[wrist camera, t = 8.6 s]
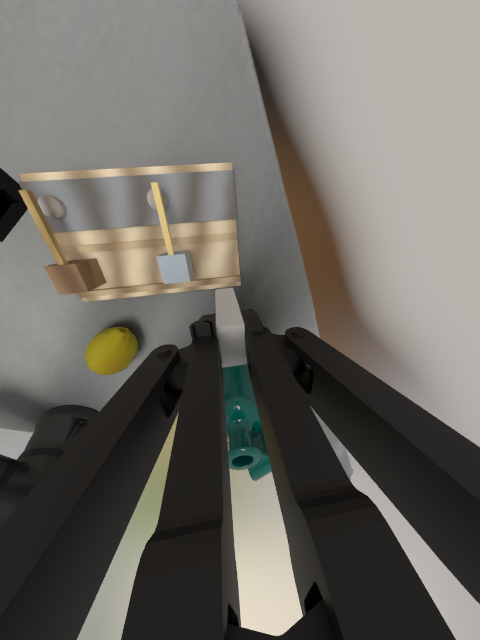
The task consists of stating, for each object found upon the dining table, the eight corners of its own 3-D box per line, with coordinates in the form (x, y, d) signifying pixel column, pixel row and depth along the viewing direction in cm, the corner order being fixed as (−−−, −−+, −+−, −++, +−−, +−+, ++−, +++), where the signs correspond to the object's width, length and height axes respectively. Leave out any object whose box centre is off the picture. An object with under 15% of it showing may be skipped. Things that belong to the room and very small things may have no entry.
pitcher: (205, 359, 42) (196, 471, 23) (230, 335, 40) (243, 437, 21) (235, 377, 46) (249, 487, 27) (259, 357, 44) (293, 460, 25)
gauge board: (88, 299, 33) (63, 314, 27) (27, 176, 25) (-27, 161, 19) (239, 283, 35) (244, 294, 29) (231, 164, 27) (235, 148, 21)
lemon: (126, 363, 40) (107, 392, 33) (91, 344, 37) (61, 371, 30) (156, 332, 38) (142, 357, 31) (120, 309, 35) (96, 330, 27)
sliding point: (170, 276, 32) (163, 284, 27) (149, 190, 26) (136, 183, 22) (193, 274, 32) (190, 281, 28) (177, 188, 26) (170, 180, 22)
